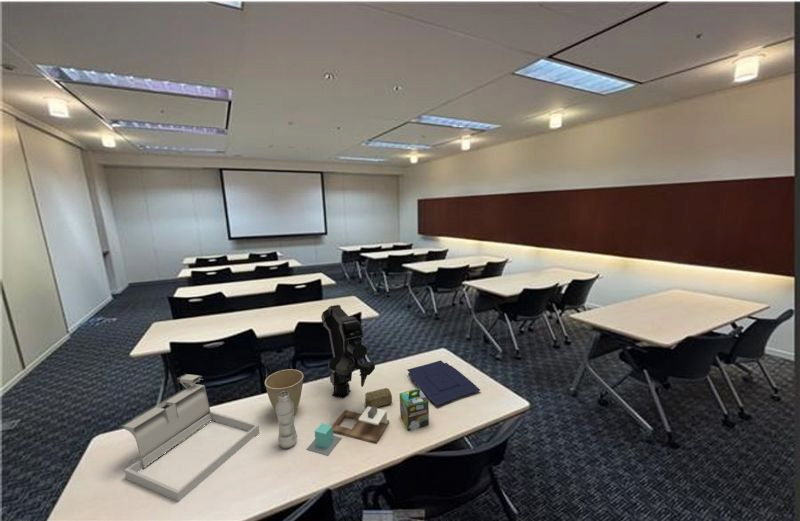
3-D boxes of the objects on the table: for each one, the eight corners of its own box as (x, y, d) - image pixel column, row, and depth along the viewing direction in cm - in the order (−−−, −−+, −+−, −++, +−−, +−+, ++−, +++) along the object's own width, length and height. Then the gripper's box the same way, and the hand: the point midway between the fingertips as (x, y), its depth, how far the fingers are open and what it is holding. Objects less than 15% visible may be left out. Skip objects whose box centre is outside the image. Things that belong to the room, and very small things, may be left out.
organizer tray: (126, 480, 101) (124, 469, 100) (212, 420, 129) (211, 411, 128) (179, 504, 92) (177, 493, 91) (259, 434, 120) (258, 424, 119)
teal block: (315, 446, 113) (314, 431, 112) (322, 437, 117) (321, 423, 116) (326, 449, 111) (325, 434, 110) (333, 440, 115) (332, 425, 114)
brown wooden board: (329, 432, 120) (328, 428, 120) (345, 413, 131) (345, 409, 131) (376, 445, 113) (376, 441, 113) (389, 423, 124) (389, 420, 124)
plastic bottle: (280, 453, 110) (275, 401, 107) (277, 441, 116) (272, 391, 113) (299, 447, 113) (294, 396, 110) (295, 435, 119) (291, 386, 116)
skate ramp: (212, 418, 127) (195, 415, 130) (202, 376, 124) (185, 373, 127) (144, 467, 104) (125, 462, 108) (130, 417, 101) (111, 412, 104)
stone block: (393, 403, 136) (392, 393, 134) (367, 411, 132) (365, 401, 131) (389, 395, 141) (388, 385, 140) (364, 402, 138) (363, 392, 137)
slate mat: (306, 450, 112) (306, 449, 111) (321, 433, 120) (321, 432, 120) (328, 457, 108) (328, 455, 108) (341, 439, 117) (341, 437, 117)
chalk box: (420, 412, 131) (420, 380, 128) (429, 427, 122) (429, 392, 120) (399, 418, 128) (398, 384, 125) (407, 433, 119) (406, 397, 117)
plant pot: (272, 430, 122) (268, 393, 119) (265, 410, 134) (261, 375, 132) (310, 416, 130) (307, 380, 127) (300, 398, 142) (297, 365, 140)
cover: (358, 431, 118) (358, 414, 116) (368, 418, 125) (367, 401, 124) (378, 436, 115) (377, 418, 114) (386, 422, 122) (386, 405, 121)
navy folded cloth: (443, 364, 169) (443, 357, 169) (480, 395, 143) (481, 388, 142) (403, 375, 159) (403, 368, 158) (435, 411, 132) (435, 403, 132)
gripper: (319, 354, 123) (322, 390, 126) (362, 361, 117) (363, 400, 119) (334, 342, 134) (336, 376, 136) (374, 349, 127) (376, 384, 130)
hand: (352, 384), depth 130 cm, fingers open, 9 cm apart
